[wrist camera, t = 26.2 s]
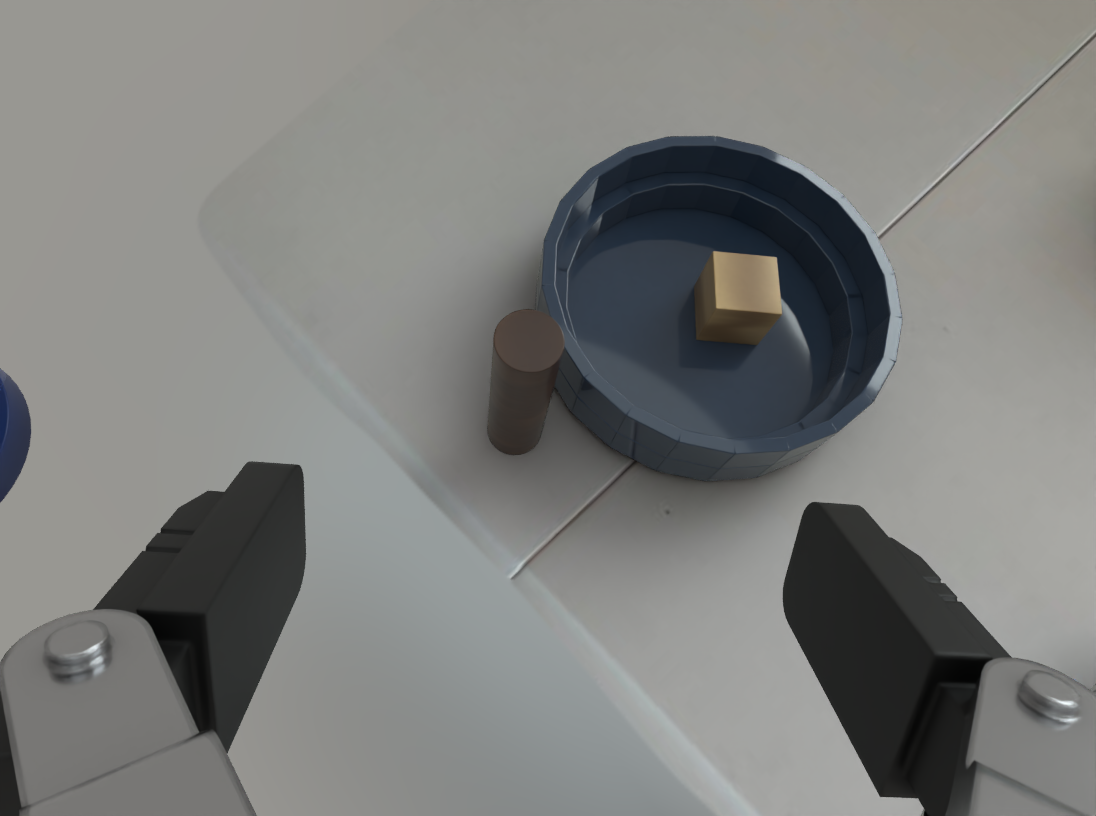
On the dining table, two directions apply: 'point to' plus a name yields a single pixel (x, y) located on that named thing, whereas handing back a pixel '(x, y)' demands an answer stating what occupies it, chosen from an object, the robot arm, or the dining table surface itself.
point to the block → (737, 298)
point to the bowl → (669, 307)
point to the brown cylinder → (522, 378)
